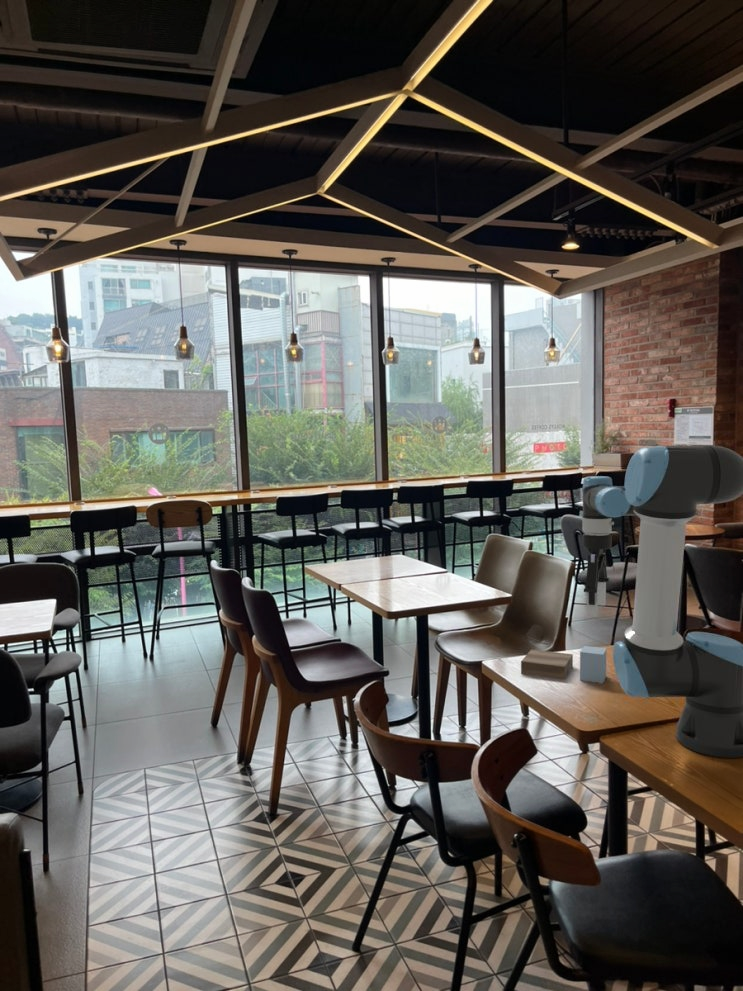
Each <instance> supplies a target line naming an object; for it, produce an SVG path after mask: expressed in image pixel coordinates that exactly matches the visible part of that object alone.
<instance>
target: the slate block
mask: <svg viewBox="0 0 743 991" xmlns="http://www.w3.org/2000/svg"><path fill="white" fill-rule="evenodd" d="M579 654H580V655H579V656H580V657H579V664H580V665H579V681H580V680H583V681H582V682H588V681H592V682H591V683H595V682H599V683H598V684H604V683H603V682H605V680H606V678H607V648H605V647H597V646H588V645H584V646H583V647H582V648H581V650H580V653H579Z"/></svg>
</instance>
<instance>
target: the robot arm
mask: <svg viewBox="0 0 743 991" xmlns="http://www.w3.org/2000/svg"><path fill="white" fill-rule="evenodd" d="M628 462H629V463H628V465H627V467H626V471H625V476H624V484H623V486H621V485H619V486H618V485H613V479H612V477H610V476H603V475H600V476H599V475H594V476H592V475H591V476H586V477H584V478H583V480H582V481H583V482H582V483H583V484H582V489H581V490H582V528H581V529H582V532H583V534H582V547H583V548H584V549H587V550H588V549H589V550H590V553H589V554H587V568H586V580H585V588H583V593H586V617H593V618H598V617H599V615H598V614H599V606H603V607H604V606H606V605H607V604H606V603H607V602H606V601H607V596H606V595H607V583H609V580H610V578H609V577H608V573H607V572H608V571H607V560H606V550H609V549H611V548H612V546H613V545H612V544H613V543H612V541H613V539H612V538H613V536H612V535H611V534H610V533H611V532H612V531H613V530H612V529H613V528H612V526H614V525H615V522H614V521H612V520H613V519H612V518H620V517H622V516H624V517H625V516H637V517H638V518H639V519H640V525H639V537H638V539H639V540H638V550H637V552H638V553H637V563H636V578H635V590H634V593H635V594H634V604H633V615H632V616H633V618H632V625H630V626H628V627H627V628H626V629H625V630H624V634H623V636H624V638H623V641H622V640H619V641H616V642H614V645H613V649H612V657H613V658H612V659H613V666H614V671H615V674H616V677H617V681H618V683H619V685H620V687H621V689H622V690H623V692H624V693H625V694H626V695H628V696H629V697H634V698H635V697H636V698H645V699H649V698H685V703H684V707H683V710H682V711H681V714H680V717H679V719H678V721H677V724H676V728H675V729H676V732H675V737H676V740H677V742H678V743H680V744H681V745H682V746H684V748H687V749H688V750H691V751H693V752H696V753H699V754H703V755H706V756H710V757H717V758H723V759H724V758H725V759H727V758H728V759H737V758H743V643H741V642H740V641H738V640H736V639H733V638H731V637H728V636H725V635H720V634H718V633H711V632H705V631H690V632H688V633H687V634H686V636H685V640H684V638H683V636H682V635H681V633H679V632H678V631H677V626H678V618H679V606H680V605H679V604H680V594H681V586H682V574H683V562H684V554H685V553H684V551H685V542H686V541H685V540H686V530H687V523H689V521H691V520H692V519H694V518H695V517H696V515H697V514H696V513H697V507H698V505H712V504H713V505H714V504H723V503H728V502H732V501H734V500H736V499H738V498H739V497H741V496H742V495H743V456H742V455H740V454H739V453H737V452H736V451H734V450H732V449H730V448H727V447H724V446H719V445H711V444H710V445H658V446H649V447H641V448H640V449H637V451H636V452H634V454H633V455H632V456H631V458H630V460H629V461H628Z"/></svg>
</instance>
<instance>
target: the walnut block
mask: <svg viewBox="0 0 743 991" xmlns="http://www.w3.org/2000/svg"><path fill="white" fill-rule="evenodd" d="M529 650H530V651H528V652H527V654H525V656H524V657H523V658H522V660H521V661H520V674H521V675H529V676H534V677H535V676H536V677H542V678H549V679H550V678H551V679H557V680H564V681H565V680H566V678H567V676H568V675H569V674H570V671H571V670H572V668H573V662H574V660H573V658H574V657H573V656H574V655H573V653H564V652H556V651H549V650H548V651H547V650H539V649H529Z"/></svg>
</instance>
